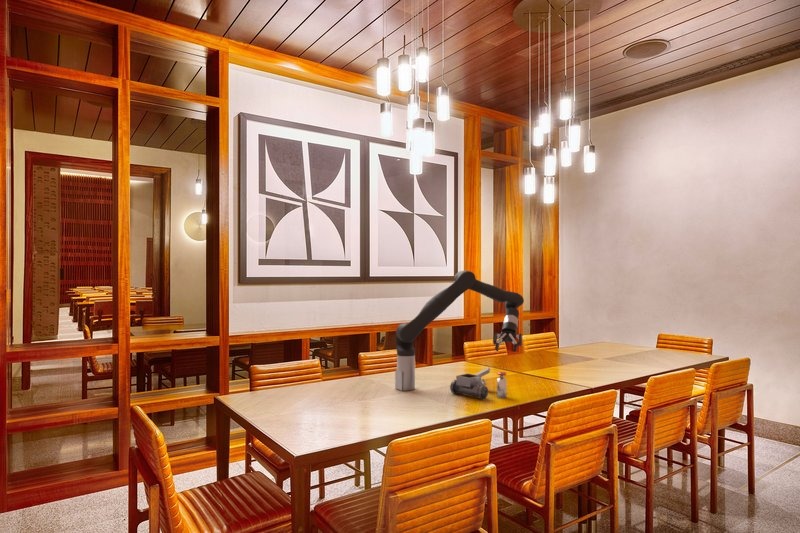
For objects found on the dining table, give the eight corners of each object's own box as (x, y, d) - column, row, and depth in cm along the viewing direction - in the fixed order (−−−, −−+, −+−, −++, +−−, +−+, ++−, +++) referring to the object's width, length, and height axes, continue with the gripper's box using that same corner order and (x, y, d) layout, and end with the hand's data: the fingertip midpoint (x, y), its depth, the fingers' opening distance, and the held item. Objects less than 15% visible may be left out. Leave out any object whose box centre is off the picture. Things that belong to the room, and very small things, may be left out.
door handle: (461, 401, 250) (496, 384, 246) (453, 387, 251) (487, 369, 247) (465, 392, 267) (497, 376, 263) (457, 379, 268) (490, 362, 264)
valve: (501, 398, 233) (501, 374, 233) (495, 396, 236) (495, 372, 236) (508, 397, 235) (508, 373, 235) (501, 395, 239) (501, 371, 239)
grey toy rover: (489, 398, 234) (489, 377, 234) (478, 401, 228) (478, 380, 228) (459, 391, 247) (459, 371, 247) (448, 394, 241) (448, 374, 241)
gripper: (495, 320, 258) (490, 345, 247) (522, 321, 252) (518, 347, 241) (497, 329, 262) (492, 354, 252) (524, 330, 256) (520, 356, 246)
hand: (505, 350), depth 246 cm, fingers open, 8 cm apart
